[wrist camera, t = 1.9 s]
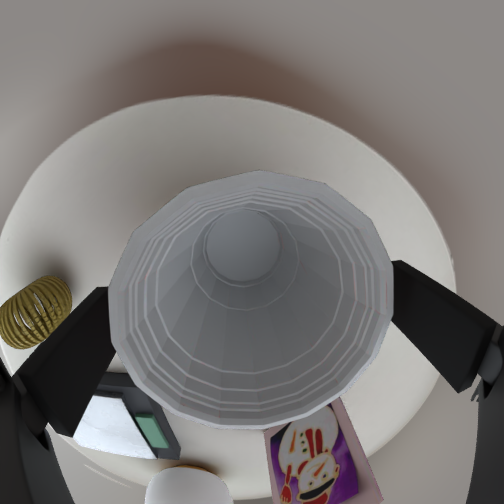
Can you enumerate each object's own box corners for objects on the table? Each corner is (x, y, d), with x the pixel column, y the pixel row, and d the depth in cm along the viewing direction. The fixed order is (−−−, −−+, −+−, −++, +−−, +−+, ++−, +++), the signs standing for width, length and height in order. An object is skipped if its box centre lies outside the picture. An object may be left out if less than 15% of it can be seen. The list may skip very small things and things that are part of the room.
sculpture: (44, 320, 21) (2, 364, 13) (25, 285, 20) (-23, 323, 12) (94, 298, 21) (48, 350, 13) (73, 257, 19) (16, 297, 12)
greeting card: (323, 370, 24) (376, 501, 10) (368, 388, 26) (423, 490, 12) (257, 431, 27) (271, 543, 12) (305, 442, 28) (329, 538, 14)
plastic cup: (334, 276, 21) (415, 371, 10) (213, 329, 22) (204, 452, 11) (284, 147, 18) (358, 117, 7) (148, 211, 19) (53, 266, 7)
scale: (40, 363, 23) (29, 376, 20) (148, 374, 23) (141, 393, 21) (85, 435, 27) (80, 448, 24) (180, 448, 27) (178, 464, 25)
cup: (229, 488, 32) (231, 534, 23) (156, 480, 31) (149, 525, 22) (235, 458, 29) (238, 517, 19) (145, 448, 27) (133, 504, 18)
